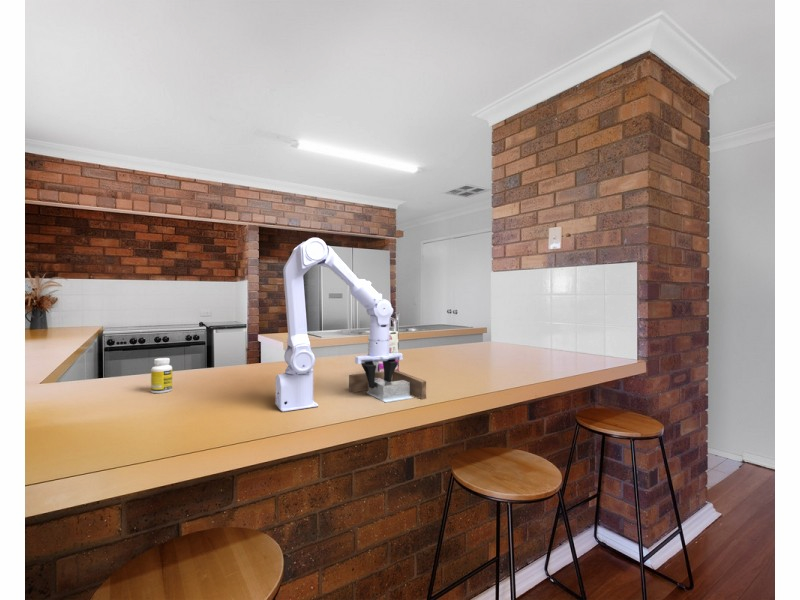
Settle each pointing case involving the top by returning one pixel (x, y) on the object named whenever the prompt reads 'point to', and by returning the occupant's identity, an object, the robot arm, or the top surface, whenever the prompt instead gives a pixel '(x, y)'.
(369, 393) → the pad
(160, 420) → the top surface
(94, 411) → the top surface
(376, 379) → the grey speckled block
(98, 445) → the top surface
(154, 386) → the supplement bottle
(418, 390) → the corner fence
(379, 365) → the candy bar box
